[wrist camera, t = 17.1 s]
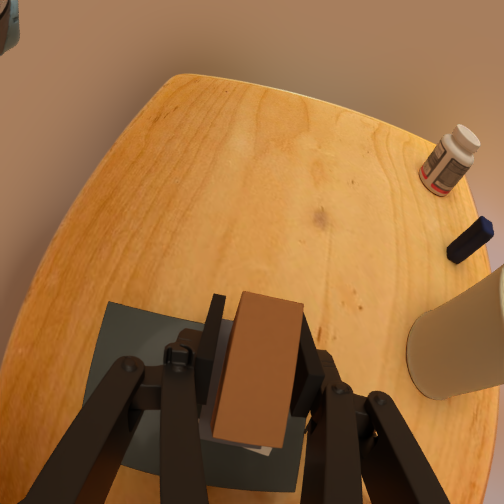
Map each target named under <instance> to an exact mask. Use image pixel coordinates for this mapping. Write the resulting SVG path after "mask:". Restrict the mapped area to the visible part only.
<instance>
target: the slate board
mask: <svg viewBox="0 0 504 504" xmlns="http://www.w3.org/2000/svg"><path fill="white" fill-rule="evenodd" d="M204 325H205V324H203V323H198V322H193V321H189V320H184V319H179V318H175V317H170V316H166V315H162V314H157V313H153V312H149V311H145V310H141V309H137V308H133V307H129V306H125V305H121V304H118V303H114V302H110V301H109V302H108V305H107V308H106V311H105V315H104V318H103V321H102V325H101V328H100V332H99V336H98V339H97V343H96V347H95V351H94V355H93V359H92V363H91V367H90V371H89V376H88V380H87V385H86V390H85V395H84V400H83V405H82V407H83V406H84V404H85V403H86V401H87V400H88V399H89V397H90V396H91V394H92V393H93V391H94V390H95V388H96V387H97V386H98V384H99V383H100V381H101V380H102V379H103V377H104V376H105V374H106V373H107V371H108V370H109V369H110V367H111V366H112V364H113V363H114V362H115V360H117V359H118V358H119V357H122V356H135V357H137V358H139V359H141V360H142V361H143V362H144V365H145V366H159V365H162V364H163V357H164V348H165V346H166V345H168V344H169V343H173V342H176V339H177V337H178V334H179V332H180V331H182V330H183V329H184V328H189V329H193V330H198V331H203V329H204ZM201 409H202V404H197V414H198V423H199V419H200V414H201ZM305 424H306V418H302V417H291V412H290V408H289V414H288V419H287V425H286V431H285V436H284V442H283V447H282V448H273V447H265V446H262V447H261V449H260V450H259V449H252V448H245V447H239V446H233V445H228V444H222V443H217V442H212V441H207V440H203V439H200V442H201V451H202V459H203V467H204V475H205V482H206V485H208V486H215V487H222V488H230V489H239V490H250V491H265V492H295V489H296V483H297V477H298V471H299V465H300V459H301V452H302V445H303V438H304V434H303V433H304V431H305ZM121 465H124V466H127V467H130V468H133V469H137V470H140V471H144V472H147V473H151V474H155V475H159V476H160V410H145V411H144V413H143V416H142V418H141V420H140V422H139V424H138V427H137V429H136V431H135V433H134V435H133V438H132V440H131V442H130V444H129V447H128V449H127V451H126V453H125V456H124V458H123V460H122V462H121Z"/></svg>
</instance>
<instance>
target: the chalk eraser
mask: <svg viewBox="0 0 504 504" xmlns="http://www.w3.org/2000/svg"><path fill="white" fill-rule="evenodd" d="M303 308H304V304H302V303H297V302H293V301H288V300H283V299H278V298H274V297H269V296H264V295H260V294H255V293H251V292H246V291H243V292H242V295H241V299H240V302H239V305H238V309H237V312H236V315H235V319H234V321H230V320H226V319H222V321H221V326H220V332H219V337H218V342H217V348H216V353H215V359H214V364H213V370H212V375H211V381H210V387H209V392H208V398H207V404H206V405H202V409H201V414H200V419H199V423H198V424H199V433H200V439H203V440H207V441H212V442H217V443H222V444H228V445H233V446H239V447H245V448H252V449H259V450H260V449H261V447H262V446H265V447H273V448H282V447H283V442H284V436H285V431H286V425H287V419H288V414H289V408H290V402H291V396H292V389H293V383H294V376H295V370H296V363H297V356H298V348H299V341H300V333H301V325H302V317H303Z"/></svg>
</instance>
